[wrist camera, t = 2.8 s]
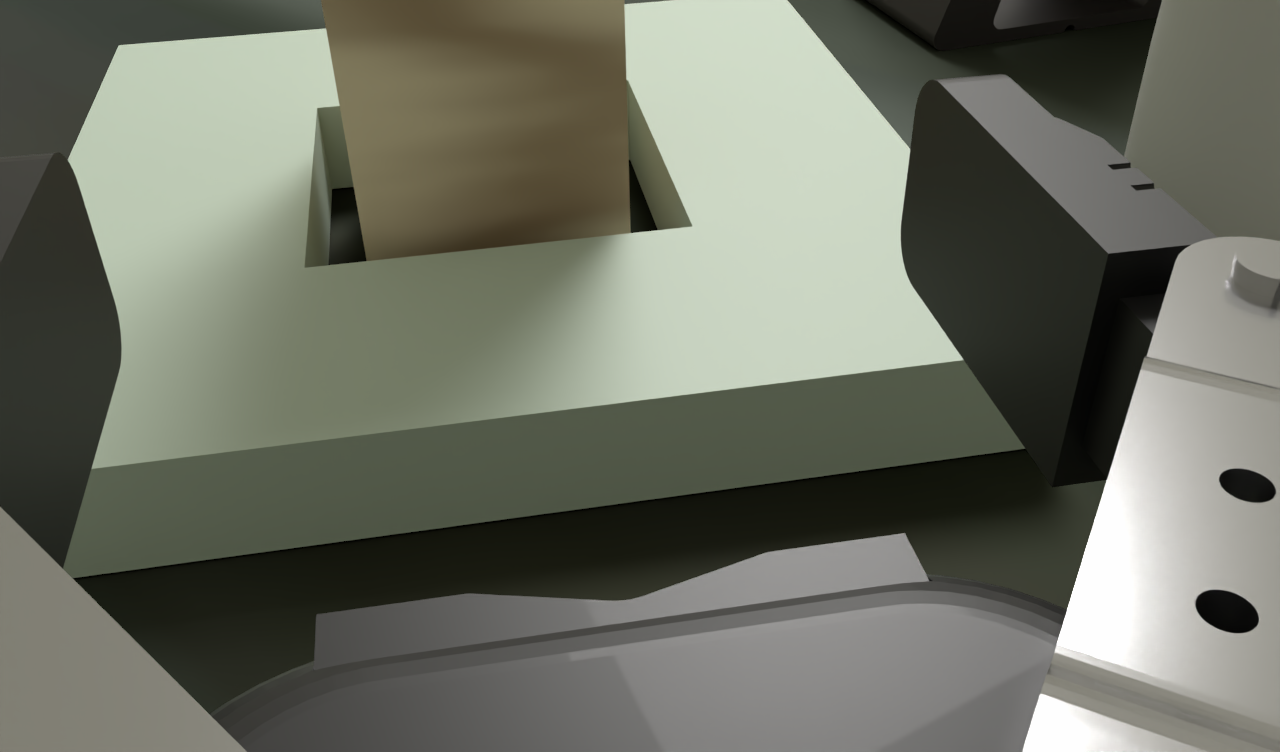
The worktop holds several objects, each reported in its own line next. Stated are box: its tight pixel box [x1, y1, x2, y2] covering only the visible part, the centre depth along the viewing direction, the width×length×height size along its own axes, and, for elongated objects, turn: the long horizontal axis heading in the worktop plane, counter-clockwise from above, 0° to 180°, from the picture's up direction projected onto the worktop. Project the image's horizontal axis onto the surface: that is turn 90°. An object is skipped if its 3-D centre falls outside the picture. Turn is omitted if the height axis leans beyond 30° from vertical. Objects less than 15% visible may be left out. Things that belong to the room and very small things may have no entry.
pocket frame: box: [63, 0, 1025, 578], centre depth 25 cm, size 17×17×2 cm
